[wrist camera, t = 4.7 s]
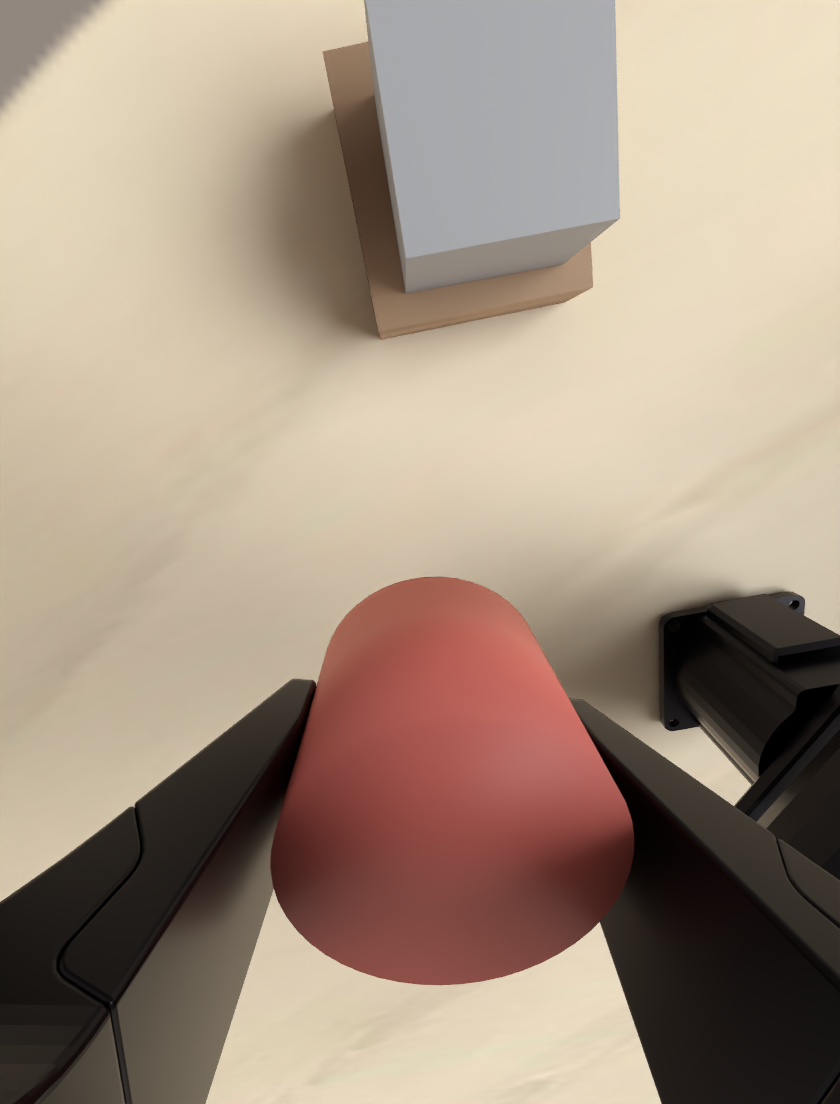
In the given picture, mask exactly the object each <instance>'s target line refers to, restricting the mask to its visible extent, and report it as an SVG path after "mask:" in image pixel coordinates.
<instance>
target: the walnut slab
mask: <svg viewBox="0 0 840 1104" xmlns="http://www.w3.org/2000/svg"><path fill="white" fill-rule="evenodd" d="M323 55H324V61H325V66H326V71H327V76H328V81H329V86H330V91H331V96H332V101H333V106H334V111H335V116H336V121H337V126H338V131H339V136H340V141H341V146H342V151H343V156H344V161H345V166H346V171H347V176H348V181H349V186H350V191H351V196H352V201H353V206H354V211H355V217H356V222H357V227H358V232H359V237H360V242H361V247H362V252H363V257H364V262H365V267H366V272H367V277H368V282H369V287H370V292H371V297H372V302H373V307H374V312H375V317H376V322H377V327H378V332H379V334H380V337H381V339H386V338H391V337H396V336H401V335H405V334H410V333H415V332H420V331H425V330H430V329H435V328H440V327H445V326H450V325H455V324H460V323H464V322H469V321H474V320H479V319H484V318H489V317H494V316H499V315H504V314H509V313H514V312H519V311H523V310H528V309H533V308H538V307H543V306H548V305H553V304H558V303H563V302H566V301H568V300H570V299H572V298H574V297H575V296H577V295H579V294H581V293H583V292H585V291H587V290H588V289H590V288H592V287H593V277H592V258H591V242H590V243H589V244H588V245H586V246H585V247H584V248H583V249H581V250H580V251H579V252H578V253H576V254H575V255H574V256H573V257H572V258H570V259H569V260H568V261H567V262H565V263H564V264H562V265H557V266H551V267H546V268H541V269H535V270H530V271H524V272H519V273H514V274H508V275H503V276H498V277H492V278H487V279H481V280H476V281H471V282H465V283H460V284H455V285H449V286H444V287H438V288H433V289H428V290H422V291H417V292H412V293H406V292H405V286H404V280H403V273H402V267H401V261H400V254H399V248H398V242H397V236H396V229H395V223H394V217H393V211H392V204H391V198H390V192H389V186H388V179H387V173H386V167H385V160H384V154H383V148H382V142H381V135H380V129H379V123H378V117H377V110H376V104H375V98H374V90H373V80H372V71H371V61H370V51H369V42H365V43H361V44H356V45H351V46H347V47H342V48H338V49H333V50H329V51H324V52H323Z"/></svg>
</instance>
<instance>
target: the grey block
mask: <svg viewBox="0 0 840 1104" xmlns="http://www.w3.org/2000/svg"><path fill="white" fill-rule="evenodd" d="M364 3H365V13H366V23H367V32H368V42H369V51H370V61H371V71H372V80H373V90H374V98H375V104H376V110H377V117H378V123H379V129H380V135H381V142H382V148H383V154H384V160H385V167H386V173H387V179H388V186H389V192H390V198H391V204H392V211H393V217H394V223H395V229H396V236H397V242H398V248H399V254H400V261H401V267H402V273H403V280H404V286H405V292H406V293H412V292H417V291H422V290H428V289H433V288H438V287H444V286H449V285H455V284H460V283H465V282H471V281H476V280H481V279H487V278H492V277H498V276H503V275H508V274H514V273H519V272H524V271H530V270H535V269H541V268H546V267H551V266H557V265H562V264H564V263H565V262H567V261H568V260H569V259H570V258H572V257H573V256H574V255H575V254H576V253H578V252H579V251H580V250H581V249H583V248H584V247H585V246H586V245H588V244H589V243H590V242H591V241H592V240H594V239H595V238H596V237H597V236H599V235H600V234H601V233H602V232H604V231H605V230H606V229H607V228H608V227H610V226H611V225H612V224H613V223H615V222H616V221H617V220H618V219H620V209H619V162H618V116H617V70H616V23H615V0H364Z"/></svg>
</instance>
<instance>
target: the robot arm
mask: <svg viewBox="0 0 840 1104" xmlns="http://www.w3.org/2000/svg"><path fill="white" fill-rule="evenodd" d="M791 601H792V603H791V604H790V605H789V603H790V602H791ZM804 608H805V599H804V598H803V597H802V596H800V595H798V594H796V593H794V592H784V593H778V594H773V595H765V594H762V595H757V596H751V597H746V598H740V599H735V600H729V601H724V602H718V603H713V604H711V605H709V606H707V607H701V608H695V609H690V610H684V611H679V612H673V613H669V614H666V615H664V616H663V617H662V618H661V620H660V622H659V675H660V721H661V723H662V724H663V726H664V727H665V728H666V729H667V730H669V731H676V730H682V729H688V728H694V727H700V728H701V729H702V730H703V731H704V732H705V733H706V735H707V736H708V737H709V738H710V739H711V740H712V741H713V742H714V743H715V745H716V746H717V747H718V748H719V749H720V750H721V751H722V752H723V754H724V755H725V756H726V757H727V758H728V759H729V760H730V761H731V763H732V764H733V765H734V766H735V767H736V768H737V769H738V770H739V771H740V773H741V774H742V775H743V776H744V777H745V778H746V779H747V780H748V782H749V783H750V784H751V785H752V786H751V787H750V788H749V789H748V790H747V791H746V793H745V794H744V795H743V796H742V797H741V798H740V799H739V801H738V802H737V803H736V804H735V805H734V806H733V805H731V804H730V803H728V802H727V801H726V800H724V799H723V798H721V797H720V796H719V795H717V794H716V793H714V792H713V791H711V790H710V789H709V788H707V787H706V786H704V785H703V784H702V783H700V782H699V781H697V780H696V779H694V778H693V777H692V776H690V775H689V774H687V773H686V772H684V771H683V770H682V769H680V768H679V767H677V766H676V765H675V764H673V763H672V762H670V761H669V760H667V759H666V758H665V757H663V756H662V755H660V754H659V753H658V752H656V751H655V750H653V749H652V748H650V747H649V746H648V745H646V744H645V743H643V742H642V741H641V740H639V739H638V738H636V737H635V736H633V735H632V734H631V733H629V732H628V731H626V730H625V729H624V728H622V727H621V726H619V725H618V724H616V723H615V722H614V721H612V720H611V719H609V718H608V717H607V716H605V715H604V714H602V713H601V712H599V711H598V710H597V709H595V708H594V707H592V706H591V705H590V704H588V703H587V702H585V701H584V700H581V699H569V700H570V702H571V704H572V705H573V707H574V709H575V711H576V713H577V715H578V716H579V718H580V720H581V722H582V724H583V725H584V727H585V729H586V731H587V733H588V734H589V736H590V738H591V740H592V742H593V744H594V745H595V747H596V749H597V751H598V753H599V754H600V756H601V758H602V760H603V762H604V764H605V765H606V767H607V769H608V771H609V773H610V774H611V776H612V778H613V780H614V782H615V784H616V785H617V787H618V789H619V791H620V793H621V794H622V796H623V798H624V800H625V802H626V804H627V807H628V810H629V813H630V816H631V819H632V824H633V831H634V855H633V860H632V865H631V870H630V873H629V875H628V878H627V881H626V883H625V886H624V888H623V890H622V891H621V893H620V895H619V897H618V898H617V900H616V902H615V903H614V905H613V906H612V907H611V909H610V910H609V911H608V913H607V914H606V915H605V916H604V918H603V919H602V920H601V921H600V924H601V927H602V930H603V933H604V936H605V938H606V941H607V944H608V947H609V950H610V953H611V956H612V959H613V962H614V965H615V968H616V971H617V974H618V977H619V980H620V983H621V986H622V988H623V991H624V994H625V997H626V1000H627V1003H628V1006H629V1009H630V1012H631V1015H632V1018H633V1021H634V1024H635V1027H636V1030H637V1033H638V1036H639V1038H640V1041H641V1044H642V1047H643V1050H644V1053H645V1056H646V1059H647V1062H648V1065H649V1068H650V1071H651V1074H652V1077H653V1080H654V1083H655V1086H656V1088H657V1091H658V1094H659V1097H660V1100H661V1103H662V1104H840V635H838V634H836V633H834V632H833V631H831V630H829V629H827V628H825V627H824V626H822V625H820V624H818V623H816V622H814V621H813V620H811V619H809V618H807V617H805V616H804ZM673 622H675V624H674V625H673V626H672V627H669V625H670V624H671V623H673ZM315 690H316V683H315V681H313V680H304V679H292V680H290V681H289V682H288V683H286V684H285V685H284V686H283V687H281V688H280V689H279V690H277V691H276V692H275V693H274V694H272V695H271V696H270V697H269V698H267V699H266V700H265V701H264V702H262V703H261V704H260V705H258V706H257V707H256V708H255V709H253V710H252V711H251V712H250V713H248V714H247V715H246V716H245V717H243V718H242V719H241V720H239V721H238V722H237V723H236V724H234V725H233V726H232V727H231V728H229V729H228V730H227V731H226V732H224V733H223V734H222V735H220V736H219V737H218V738H217V739H215V740H214V741H213V742H212V743H210V744H209V745H208V746H207V747H205V748H204V749H203V750H201V751H200V752H199V753H198V754H196V755H195V756H194V757H193V758H191V759H190V760H189V761H188V762H186V763H185V764H184V765H182V766H181V767H180V768H179V769H177V770H176V771H175V772H174V773H172V774H171V775H170V776H169V777H167V778H166V779H165V780H163V781H162V782H161V783H160V784H158V785H157V786H156V787H155V788H153V789H152V790H151V791H149V792H148V793H147V794H146V795H144V796H143V797H142V798H141V799H139V800H138V801H137V802H136V803H135V808H134V807H129V808H128V809H126V810H125V811H124V812H123V813H121V814H120V815H119V816H117V817H116V818H115V819H114V820H112V821H111V822H110V823H109V824H107V825H106V826H105V827H103V828H102V829H101V830H99V831H98V832H97V833H96V834H94V835H93V836H92V837H90V838H89V839H88V840H86V841H85V842H84V843H82V844H81V845H80V846H78V847H77V848H76V849H74V850H73V851H72V852H70V853H69V854H68V855H66V856H65V857H64V858H62V859H61V860H60V861H58V862H57V863H55V864H54V865H52V866H51V867H50V868H48V869H47V870H45V871H44V872H42V873H41V874H40V875H38V876H37V877H35V878H34V879H33V880H31V881H30V882H28V883H27V884H25V885H24V886H23V887H21V888H20V889H18V890H17V891H15V892H14V893H13V894H11V895H10V896H8V897H7V898H5V899H4V900H2V901H1V902H0V1104H205V1103H206V1100H207V1097H208V1094H209V1090H210V1087H211V1084H212V1081H213V1078H214V1075H215V1072H216V1068H217V1065H218V1062H219V1059H220V1056H221V1053H222V1049H223V1046H224V1043H225V1040H226V1037H227V1034H228V1031H229V1027H230V1024H231V1021H232V1018H233V1015H234V1012H235V1009H236V1005H237V1002H238V999H239V996H240V993H241V990H242V987H243V983H244V980H245V977H246V974H247V971H248V968H249V964H250V961H251V958H252V955H253V952H254V949H255V946H256V942H257V939H258V936H259V933H260V930H261V927H262V924H263V920H264V917H265V914H266V911H267V908H268V905H269V902H270V898H271V895H272V892H273V889H274V888H273V884H272V877H271V870H270V860H271V847H272V843H273V838H274V834H275V830H276V827H277V823H278V820H279V816H280V813H281V809H282V806H283V802H284V798H285V795H286V791H287V788H288V784H289V781H290V777H291V774H292V770H293V767H294V763H295V760H296V756H297V753H298V749H299V746H300V742H301V739H302V735H303V732H304V728H305V725H306V721H307V718H308V714H309V711H310V707H311V704H312V700H313V697H314V693H315ZM672 719H674V720H673V721H671V720H672Z"/></svg>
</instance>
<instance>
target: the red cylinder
mask: <svg viewBox="0 0 840 1104" xmlns="http://www.w3.org/2000/svg"><path fill="white" fill-rule="evenodd" d="M633 855H634V831H633V824H632V819H631V816H630V813H629V810H628V807H627V804H626V802H625V800H624V798H623V796H622V794H621V793H620V791H619V789H618V787H617V785H616V784H615V782H614V780H613V778H612V776H611V774H610V773H609V771H608V769H607V767H606V765H605V764H604V762H603V760H602V758H601V756H600V754H599V753H598V751H597V749H596V747H595V745H594V744H593V742H592V740H591V738H590V736H589V734H588V733H587V731H586V729H585V727H584V725H583V724H582V722H581V720H580V718H579V716H578V715H577V713H576V711H575V709H574V707H573V705H572V704H571V702H570V700H569V698H568V696H567V695H566V693H565V691H564V689H563V687H562V685H561V684H560V682H559V680H558V678H557V676H556V675H555V673H554V671H553V669H552V667H551V665H550V664H549V662H548V660H547V658H546V656H545V655H544V653H543V651H542V649H541V647H540V646H539V644H538V642H537V640H536V638H535V636H534V635H533V633H532V631H531V629H530V627H529V626H528V624H527V622H526V621H525V619H524V618H523V617H522V615H521V614H520V613H519V612H518V611H517V610H516V609H515V608H514V607H513V606H512V605H511V604H510V603H509V602H508V601H507V600H505V599H504V598H502V597H501V596H500V595H498V594H497V593H495V592H493V591H491V590H489V589H487V588H486V587H483V586H481V585H478V584H475V583H473V582H469V581H465V580H461V579H457V578H448V577H423V578H416V579H409V580H406V581H402V582H398V583H395V584H392V585H390V586H387V587H385V588H382V589H381V590H379V591H377V592H375V593H373V594H372V595H370V596H368V597H367V598H365V599H364V600H363V601H361V602H360V603H359V604H357V605H356V606H355V607H354V608H353V609H352V610H351V611H350V612H349V613H348V614H347V615H346V616H345V618H344V619H343V620H342V622H341V623H340V624H339V625H338V627H337V629H336V631H335V632H334V634H333V636H332V638H331V640H330V643H329V645H328V648H327V651H326V655H325V658H324V662H323V665H322V669H321V672H320V676H319V679H318V683H317V686H316V690H315V693H314V697H313V700H312V704H311V707H310V711H309V714H308V718H307V721H306V725H305V728H304V732H303V735H302V739H301V742H300V746H299V749H298V753H297V756H296V760H295V763H294V767H293V770H292V774H291V777H290V781H289V784H288V788H287V791H286V795H285V798H284V802H283V806H282V809H281V813H280V816H279V820H278V823H277V827H276V830H275V834H274V838H273V843H272V847H271V860H270V870H271V877H272V884H273V888H274V890H275V893H276V896H277V899H278V902H279V904H280V906H281V908H282V909H283V911H284V913H285V915H286V917H287V918H288V919H289V921H290V922H291V923H292V925H293V926H294V927H295V928H296V930H297V931H298V932H299V933H300V934H301V935H302V936H303V937H304V938H305V939H306V940H307V941H308V942H309V943H310V944H312V945H313V946H315V947H316V948H317V949H319V950H320V951H321V952H323V953H324V954H325V955H327V956H329V957H331V958H332V959H334V960H336V961H338V962H339V963H341V964H343V965H346V966H348V967H350V968H353V969H355V970H357V971H360V972H363V973H366V974H369V975H372V976H375V977H378V978H383V979H388V980H392V981H397V982H404V983H412V984H423V985H452V984H465V983H473V982H480V981H485V980H490V979H494V978H499V977H503V976H506V975H510V974H513V973H516V972H519V971H522V970H525V969H527V968H530V967H532V966H535V965H537V964H540V963H542V962H544V961H546V960H548V959H550V958H551V957H553V956H555V955H557V954H559V953H561V952H562V951H564V950H565V949H567V948H568V947H570V946H571V945H573V944H575V943H576V942H577V941H579V940H580V939H581V938H582V937H583V936H585V935H586V934H587V933H588V932H590V931H591V930H592V929H593V928H594V927H595V926H596V925H597V924H598V923H599V922H600V921H601V920H602V919H603V918H604V916H605V915H606V914H607V913H608V911H609V910H610V909H611V907H612V906H613V905H614V903H615V902H616V900H617V898H618V897H619V895H620V893H621V891H622V890H623V888H624V886H625V883H626V881H627V878H628V875H629V873H630V870H631V865H632V860H633Z"/></svg>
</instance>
